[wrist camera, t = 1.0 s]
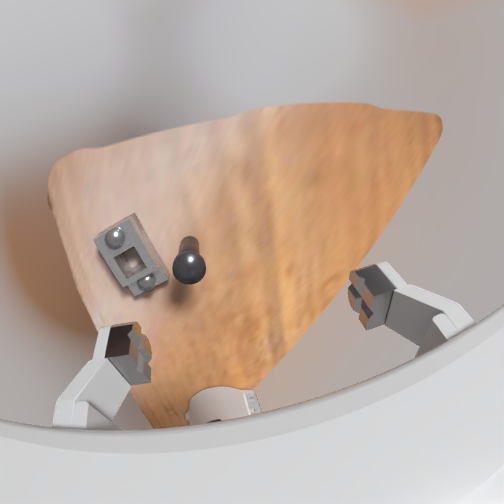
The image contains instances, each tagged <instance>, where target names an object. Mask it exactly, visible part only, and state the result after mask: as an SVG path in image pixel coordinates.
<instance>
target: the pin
mask: <svg viewBox="0 0 504 504" xmlns="http://www.w3.org/2000/svg"><path fill="white" fill-rule="evenodd" d="M205 272H206V265H205V261H204V259H203V257H202V256H201V255H200V254H199V243H198V241H197V239H196V238H194V237H192V236H188V237H185V238H184V239H183V240H182V241H181V245H180V254H179V255H177V256H176V258H175V260H174V262H173V274H174V276H175V277H176V279H177V280H178V281H180V282H182V283H184V284H195V283H197V282H199V281H200V280H201V279H202V278H203V277H204V275H205Z"/></svg>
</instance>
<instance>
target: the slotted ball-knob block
mask: <svg viewBox="0 0 504 504" xmlns="http://www.w3.org/2000/svg"><path fill="white" fill-rule="evenodd" d="M93 241H94V242H95V244H96V246H97V247H98V249H99V251H100V253H101V254H102V256H103V258H104V259H105V261H106V262H107V264H108V266H109V267H110V269H111V270H112V272H113V274H114V275H115V277H116V278H117V280H118V281H119V283H120V284H121V286H122V287H125V286H128V287H129V289H130V290H131V292H132V293H133V295H134V296H136V295H138V294H140V293H142V292H144V291H145V292H149V291H151V290H152V289H153V288H154V286H156V285H158V284H160V283H162V282H164V281H167V280H169V276H170V274H169V272H168V271H167V269H166V267H165V266H164V264H163V262H162V261H161V259H160V257H159V255H158V254H157V252H156V250H155V249H154V247H153V245H152V243H151V242H150V240H149V238H148V236H147V234H146V233H145V231H144V229H143V227H142V225H141V224H140V222H139V220H138V218H137V216H136V214H135V213H133V214H132V215H130V216H128V217H126V218H125V219H123V220H121V221H119V222H118V223H116V224H114V225H113V226H111V227H109V228H108V229H106V230H104V231H103V232H101V233H100V234H99V235H98V236H97V237H96V238H95V239H94V240H93ZM133 246H134V247H135V249H136V250H137V252H138V254H139V255H140V257H141V259H142V260H143V263H141V264H139V265H137V266H136V267H134V268H132V269H131V267H130V266H129V264H128V263H127V261H126V259H125V258H124V256H123V254H122V252H124V251H126V250H128V249H130V248H131V247H133Z"/></svg>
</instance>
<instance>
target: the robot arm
mask: <svg viewBox="0 0 504 504" xmlns="http://www.w3.org/2000/svg"><path fill="white" fill-rule="evenodd" d="M349 280H350V281H351V283H352V284H351V285H350V286H349V288H348V298H349V302H350V305H351V307H352V308H353V310H354V311H356V312H358V313H360V314H359V320H360V321H361V323H362V324H363V326H364V328H365V329H366V330H369V329H372V328H375V327H377V326H381V325H384V324H385V325H386V326H387V327H389V328H390V329H392V330H394V331H395V332H397V333H398V334H400V335H402V336H404V337H405V338H407V339H409V340H410V341H412V342H413V343H415V344H416V345H418V346H420V348H419V350H418V352H417V354H416V356H415V358H414V359H413V360H410V361H408V362H406V363H404V364H402V365H399V366H397V367H395V368H393V369H391V370H388V371H386V372H384V373H382V374H379V375H377V376H374V377H372V378H370V379H367V380H365V381H362V382H360V383H357V384H354V385H352V386H349V387H346V388H343V389H341V390H338V391H335V392H332V393H329V394H326V395H323V396H320V397H317V398H314V399H310V400H307V401H304V402H300V403H297V404H293V405H290V406H286V407H282V408H278V409H275V410H271V411H266V412H262V410H261V408H260V405H259V402H258V399H257V396H256V394H255V392H254V391H253V390H239V389H235V388H231V387H212V388H208V389H205V390H202V391H200V392H198V393H197V394H195V395H194V396H193V397H192V399H191V400H190V402H189V410H188V411H187V412H186V413H185V419H186V420H188V421H189V422H190V425H189V426H180V427H171V428H159V429H145V430H121V429H120V428H119V427H118V426H116V425H115V424H114V423H112V420H113V418H114V416H115V415H116V413H117V411H118V409H119V407H120V406H121V404H122V402H123V400H124V398H125V397H126V395H127V393H128V392H129V390H130V388H131V385H137V384H144V383H151V367H150V366H149V365H148V363H149V361H150V360H151V359H152V351H151V345H150V343H149V340H148V338H147V337H146V336H145V335H144V334H142V333H141V327H140V325H139V324H138V322H129V323H122V324H116V325H111V326H103V327H101V328H100V330H99V333H98V338H97V342H96V346H95V351H94V355H93V360H89V361H88V363H87V364H86V365H85V366H84V368H83V369H82V370H81V371H80V372H79V373H78V375H77V376H76V377H75V378H74V380H73V381H72V382H71V383H70V384H69V386H68V387H67V388H66V389H65V391H64V392H63V393H62V394H61V396H60V397H59V398H58V399H57V402H56V407H55V413H54V419H53V425H52V427H45V426H37V425H30V424H23V423H18V422H12V421H7V420H2V419H0V504H504V305H502V306H501V307H500V308H498V309H497V310H496V311H494V312H492V313H491V314H490V315H488V316H487V317H485V318H484V319H482V320H481V321H479V322H478V323H475V322H474V321H473V319H472V318H470V316H469V315H468V314H467V312H466V311H465V310H464V309H463V308H462V307H461V305H460V304H459V303H457V302H454V301H452V300H449V299H447V298H444V297H442V296H439V295H437V294H434V293H432V292H429V291H427V290H424V289H422V288H419V287H417V286H414V285H412V284H409V285H407V284H406V283H405V281H404V280H403V279H402V278H401V277H400V276H399V275H398V273H397V272H396V271H395V270H394V269H393V268H392V267H391V266H390V265H389V264H388V262H386V261H382V262H379V263H376V264H373V265H369V266H366V267H363V268H359V269H356V270H352V271H351V272H350V276H349Z"/></svg>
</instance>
